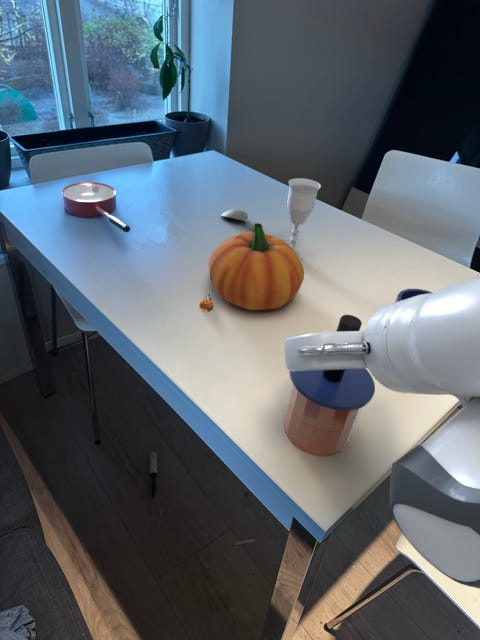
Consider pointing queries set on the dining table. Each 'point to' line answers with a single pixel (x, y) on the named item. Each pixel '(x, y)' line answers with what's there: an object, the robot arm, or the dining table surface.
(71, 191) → the frying pan
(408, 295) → the blue round container
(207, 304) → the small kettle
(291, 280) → the pumpkin
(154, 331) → the dining table surface
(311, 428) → the pot
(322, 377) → the lid
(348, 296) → the dining table surface
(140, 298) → the dining table surface
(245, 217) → the soupspoon
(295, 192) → the chalice
